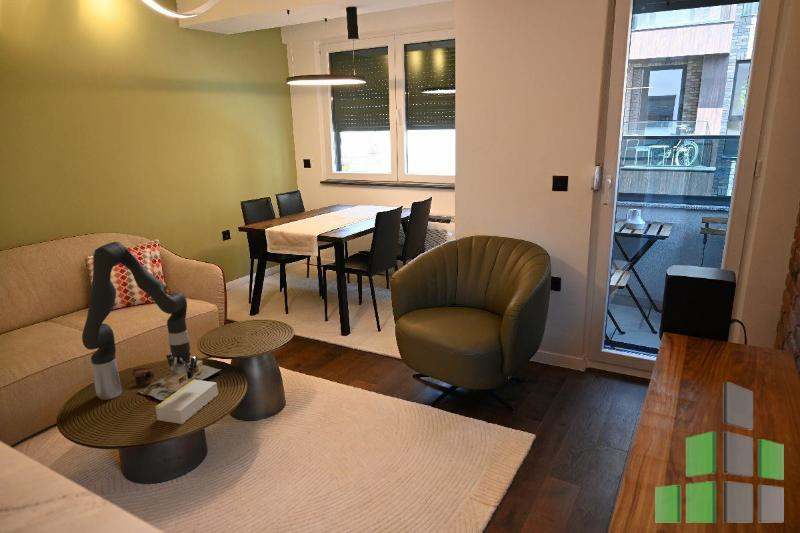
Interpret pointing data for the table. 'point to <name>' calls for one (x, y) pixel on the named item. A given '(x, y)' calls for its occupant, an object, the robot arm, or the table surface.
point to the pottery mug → (142, 375)
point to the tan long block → (180, 378)
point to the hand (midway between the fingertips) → (184, 377)
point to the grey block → (178, 369)
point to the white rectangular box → (186, 401)
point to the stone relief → (162, 391)
